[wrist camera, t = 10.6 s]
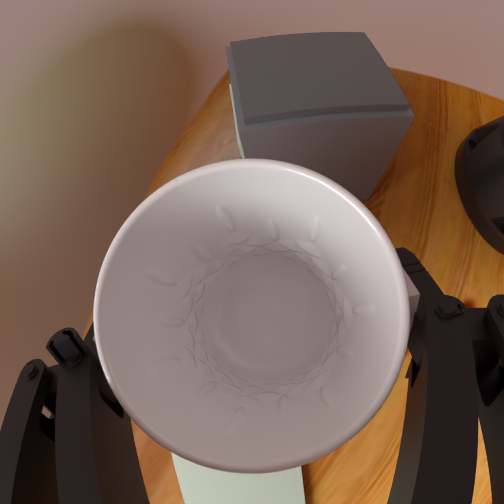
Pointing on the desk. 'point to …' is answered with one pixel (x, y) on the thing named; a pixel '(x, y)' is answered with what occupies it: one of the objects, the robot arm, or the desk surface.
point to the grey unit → (318, 105)
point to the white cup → (251, 316)
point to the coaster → (237, 485)
